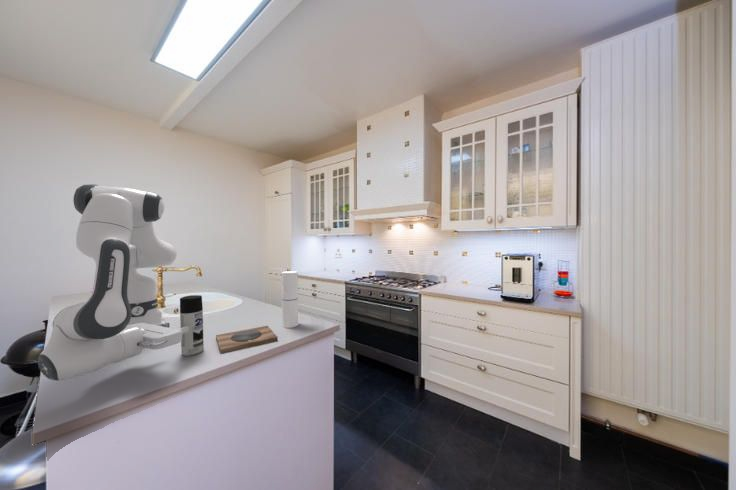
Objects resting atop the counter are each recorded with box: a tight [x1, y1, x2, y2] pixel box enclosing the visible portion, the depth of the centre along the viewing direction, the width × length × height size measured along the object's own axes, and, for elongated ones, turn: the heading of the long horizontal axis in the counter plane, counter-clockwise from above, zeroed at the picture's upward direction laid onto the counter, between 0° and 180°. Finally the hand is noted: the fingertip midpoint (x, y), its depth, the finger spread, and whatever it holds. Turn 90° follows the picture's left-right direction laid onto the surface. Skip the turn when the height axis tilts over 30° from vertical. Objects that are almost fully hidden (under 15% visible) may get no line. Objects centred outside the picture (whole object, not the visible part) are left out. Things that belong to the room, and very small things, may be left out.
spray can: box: [179, 294, 205, 357], centre depth 92 cm, size 7×7×20 cm
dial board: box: [215, 325, 278, 354], centre depth 104 cm, size 16×20×2 cm
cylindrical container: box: [281, 270, 299, 329], centre depth 121 cm, size 7×7×25 cm
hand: (177, 326), depth 88 cm, fingers open, 8 cm apart
